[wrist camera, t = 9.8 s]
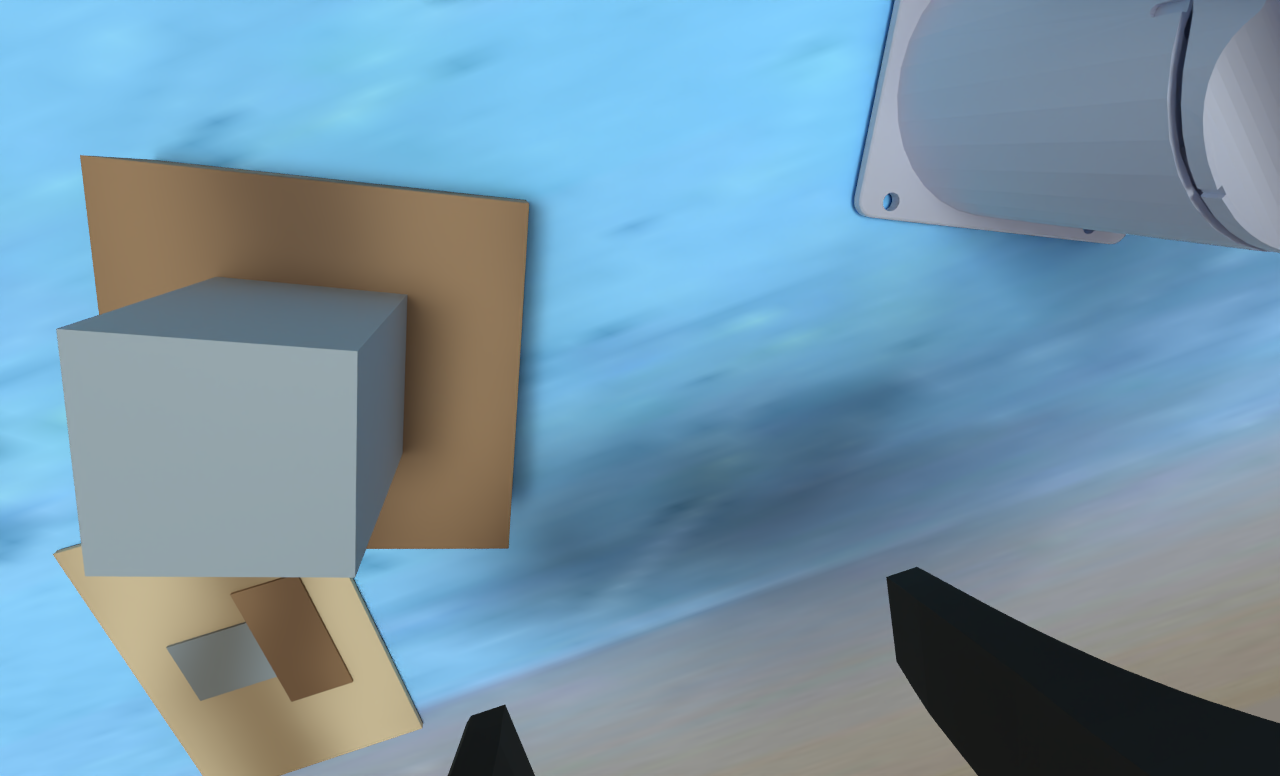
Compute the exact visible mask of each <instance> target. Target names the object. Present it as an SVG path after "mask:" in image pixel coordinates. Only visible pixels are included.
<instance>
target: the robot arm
mask: <svg viewBox="0 0 1280 776" xmlns="http://www.w3.org/2000/svg"><path fill="white" fill-rule="evenodd" d="M888 193H890V194H891V196H892V203H891V206H890V207H889V208H888V209H886V210H885V208H884V206H883V200H884V198H885V196H886V195H887V194H888ZM854 205H855V208H856V210H857V211H858V212H859V213H860V215H863V216H866V217H872V218H881V219H890V220H898V221H907V222H916V223H925V224H934V225H943V226H952V227H961V228H970V229H979V230H988V231H997V232H1006V233H1015V234H1024V235H1032V236H1041V237H1050V238H1059V239H1068V240H1077V241H1086V242H1095V243H1104V244H1115V243H1117V242H1119V241H1121V239H1122V238H1123V237H1124V236H1125V235H1126V234H1129V235H1137V236H1145V237H1153V238H1161V239H1169V240H1177V241H1185V242H1193V243H1201V244H1209V245H1217V246H1225V247H1233V248H1241V249H1249V250H1257V251H1269V252H1278V253H1280V0H895V2H894V7H893V12H892V17H891V22H890V27H889V32H888V36H887V41H886V46H885V51H884V56H883V61H882V66H881V71H880V76H879V80H878V85H877V90H876V95H875V100H874V105H873V110H872V115H871V119H870V124H869V129H868V134H867V139H866V144H865V149H864V154H863V158H862V163H861V168H860V173H859V178H858V183H857V188H856V193H855V198H854ZM1083 229H1084V230H1083ZM886 578H887V586H888V594H889V603H890V611H891V619H892V627H893V636H894V644H895V652H896V661H897V663H898V664H899V666H900V668H901V669H902V671H903V673H904V674H905V676H906V678H907V679H908V681H909V683H910V684H911V686H912V687H913V689H914V691H915V692H916V694H917V695H918V697H919V698H920V700H921V702H922V703H923V705H924V706H925V708H926V709H927V711H928V712H929V714H930V715H931V716H932V718H933V719H934V720H935V722H936V723H937V724H938V726H939V727H940V728H941V729H942V731H943V732H944V733H945V734H946V736H947V737H948V738H949V740H950V741H951V742H952V743H953V745H954V746H955V747H956V748H957V750H958V751H959V752H960V753H961V755H962V756H963V757H964V759H965V760H966V761H967V762H968V764H969V765H970V766H971V767H972V769H973V770H974V771H975V772H976V774H977V775H978V776H1280V723H1276V722H1274V721H1270V720H1267V719H1263V718H1260V717H1257V716H1254V715H1251V714H1248V713H1245V712H1242V711H1238V710H1235V709H1232V708H1229V707H1226V706H1223V705H1220V704H1217V703H1214V702H1210V701H1207V700H1205V699H1202V698H1199V697H1196V696H1193V695H1190V694H1187V693H1184V692H1182V691H1179V690H1176V689H1174V688H1171V687H1168V686H1166V685H1163V684H1161V683H1158V682H1155V681H1153V680H1150V679H1147V678H1145V677H1142V676H1140V675H1137V674H1134V673H1132V672H1129V671H1127V670H1124V669H1122V668H1119V667H1117V666H1115V665H1112V664H1110V663H1107V662H1105V661H1103V660H1100V659H1098V658H1096V657H1094V656H1092V655H1089V654H1087V653H1085V652H1083V651H1080V650H1078V649H1076V648H1074V647H1072V646H1069V645H1067V644H1065V643H1063V642H1060V641H1058V640H1056V639H1054V638H1052V637H1050V636H1048V635H1046V634H1044V633H1042V632H1040V631H1038V630H1036V629H1034V628H1031V627H1029V626H1027V625H1025V624H1023V623H1022V622H1020V621H1018V620H1016V619H1014V618H1012V617H1010V616H1008V615H1006V614H1004V613H1002V612H1000V611H998V610H996V609H994V608H992V607H990V606H989V605H987V604H985V603H983V602H981V601H979V600H977V599H975V598H974V597H972V596H970V595H968V594H966V593H964V592H962V591H961V590H959V589H957V588H955V587H953V586H951V585H950V584H948V583H946V582H944V581H942V580H940V579H939V578H937V577H935V576H933V575H931V574H929V573H928V572H926V571H924V570H922V569H920V568H918V567H915V568H912V569H909V570H906V571H903V572H900V573H897V574H894V575H891V576H888V577H886ZM448 776H535V775H534V772H533V770H532V768H531V765H530V763H529V760H528V758H527V756H526V753H525V751H524V748H523V746H522V744H521V741H520V739H519V736H518V734H517V732H516V729H515V727H514V725H513V722H512V720H511V717H510V715H509V713H508V710H507V708H506V705H502V706H499V707H496V708H493V709H490V710H487V711H484V712H481V713H478V714H475V715H472V716H471V717H470V719H469V720H468V722H467V724H466V727H465V729H464V732H463V735H462V738H461V741H460V744H459V746H458V749H457V752H456V755H455V757H454V760H453V763H452V766H451V768H450V771H449V774H448Z"/></svg>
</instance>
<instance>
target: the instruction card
mask: <svg viewBox="0 0 1280 776" xmlns="http://www.w3.org/2000/svg"><path fill="white" fill-rule="evenodd" d="M53 555H54V557H55V558H56V560H57V561H58V563H59V564H60V566H61V567H62V569H63V570H64V572H65V573H66V575H67V576H68V578H69V579H70V581H71V582H72V583H73V585H74V586H75V588H76V589H77V591H78V592H79V594H80V595H81V597H82V598H83V600H84V601H85V603H86V604H87V606H88V607H89V609H90V610H91V612H92V613H93V614H94V616H95V617H96V619H97V620H98V622H99V623H100V625H101V626H102V628H103V629H104V631H105V632H106V634H107V635H108V637H109V638H110V640H111V641H112V643H113V644H114V645H115V647H116V648H117V650H118V651H119V653H120V654H121V656H122V657H123V659H124V660H125V662H126V663H127V665H128V666H129V668H130V669H131V671H132V672H133V674H134V675H135V676H136V678H137V679H138V681H139V682H140V684H141V685H142V687H143V688H144V690H145V691H146V693H147V694H148V696H149V697H150V699H151V700H152V702H153V703H154V705H155V706H156V707H157V709H158V710H159V712H160V713H161V715H162V716H163V718H164V719H165V721H166V722H167V724H168V725H169V727H170V728H171V730H172V731H173V733H174V734H175V736H176V737H177V738H178V740H179V741H180V743H181V744H182V746H183V747H184V749H185V750H186V752H187V753H188V755H189V756H190V758H191V759H192V761H193V762H194V764H195V765H196V767H197V768H198V769H199V771H200V772H201V774H202V775H203V776H280V775H283V774H286V773H289V772H292V771H295V770H298V769H301V768H304V767H307V766H310V765H313V764H316V763H319V762H322V761H325V760H328V759H331V758H334V757H337V756H340V755H343V754H346V753H349V752H352V751H355V750H358V749H361V748H364V747H367V746H370V745H373V744H376V743H379V742H382V741H385V740H388V739H391V738H394V737H397V736H400V735H403V734H406V733H409V732H412V731H415V730H418V729H421V728H422V727H423V723H422V721H421V719H420V716H419V714H418V712H417V710H416V708H415V706H414V704H413V702H412V700H411V698H410V696H409V694H408V692H407V690H406V687H405V685H404V683H403V681H402V679H401V677H400V675H399V673H398V671H397V669H396V667H395V665H394V663H393V661H392V659H391V656H390V654H389V652H388V650H387V648H386V646H385V644H384V642H383V640H382V638H381V636H380V634H379V632H378V630H377V627H376V625H375V623H374V621H373V619H372V617H371V615H370V613H369V611H368V609H367V607H366V605H365V603H364V601H363V598H362V596H361V594H360V592H359V590H358V588H357V586H356V584H355V582H354V580H353V578H335V577H118V576H85V572H84V563H83V554H82V546H81V544H78V545H75V546H71V547H68V548H64V549H61V550H57V551H56V552H55V553H54V554H53Z"/></svg>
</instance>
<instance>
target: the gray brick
mask: <svg viewBox="0 0 1280 776" xmlns="http://www.w3.org/2000/svg"><path fill="white" fill-rule="evenodd" d="M406 325H407V294H396V293H385V292H375V291H364V290H353V289H343V288H332V287H321V286H310V285H300V284H289V283H278V282H268V281H257V280H246V279H235V278H225V277H214V278H211V279H208V280H205V281H202V282H198V283H195V284H192V285H189V286H186V287H183V288H180V289H177V290H174V291H171V292H168V293H165V294H162V295H159V296H156V297H153V298H150V299H146V300H143V301H140V302H137V303H134V304H131V305H128V306H125V307H122V308H119V309H116V310H113V311H110V312H107V313H104V314H101V315H97V316H94V317H91V318H88V319H85V320H82V321H79V322H76V323H73V324H70V325H67V326H64V327H61V328H58V329H56V330H57V339H58V348H59V356H60V365H61V373H62V382H63V391H64V399H65V408H66V416H67V425H68V434H69V442H70V451H71V460H72V468H73V477H74V485H75V494H76V503H77V511H78V520H79V528H80V537H81V546H82V554H83V563H84V572H85V576H118V577H335V578H355V576H356V574H357V571H358V569H359V566H360V563H361V561H362V558H363V556H364V553H365V550H366V548H367V545H368V542H369V540H370V537H371V535H372V532H373V529H374V527H375V524H376V522H377V519H378V516H379V514H380V511H381V509H382V506H383V503H384V501H385V498H386V496H387V493H388V490H389V488H390V485H391V482H392V480H393V477H394V475H395V472H396V469H397V467H398V464H399V462H400V459H401V456H402V453H403V421H404V389H405V357H406Z"/></svg>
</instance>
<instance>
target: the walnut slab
mask: <svg viewBox="0 0 1280 776" xmlns="http://www.w3.org/2000/svg"><path fill="white" fill-rule="evenodd" d="M80 159H81V167H82V175H83V184H84V192H85V200H86V209H87V217H88V225H89V234H90V242H91V250H92V259H93V267H94V275H95V284H96V292H97V301H98V309H99V315H101V314H104V313H107V312H110V311H113V310H116V309H119V308H122V307H125V306H128V305H131V304H134V303H137V302H140V301H143V300H146V299H150V298H153V297H156V296H159V295H162V294H165V293H168V292H171V291H174V290H177V289H180V288H183V287H186V286H189V285H192V284H195V283H198V282H202V281H205V280H208V279H211V278H214V277H225V278H235V279H246V280H257V281H268V282H278V283H289V284H300V285H310V286H321V287H332V288H343V289H353V290H364V291H375V292H385V293H396V294H407V325H406V357H405V389H404V421H403V453H402V456H401V459H400V462H399V464H398V467H397V469H396V472H395V475H394V477H393V480H392V482H391V485H390V488H389V490H388V493H387V496H386V498H385V501H384V503H383V506H382V509H381V511H380V514H379V516H378V519H377V522H376V524H375V527H374V529H373V532H372V535H371V537H370V540H369V542H368V545H367V548H366V549H489V548H509V532H510V515H511V499H512V482H513V465H514V448H515V432H516V415H517V398H518V381H519V365H520V348H521V331H522V315H523V298H524V281H525V264H526V248H527V231H528V214H529V203H528V202H527V201H526V200H520V199H511V198H502V197H493V196H483V195H474V194H465V193H456V192H446V191H437V190H428V189H419V188H409V187H400V186H391V185H382V184H372V183H363V182H354V181H345V180H335V179H326V178H317V177H308V176H298V175H289V174H280V173H270V172H261V171H252V170H243V169H233V168H224V167H215V166H206V165H196V164H187V163H178V162H169V161H159V160H148V159H132V158H116V157H99V156H83V155H80Z"/></svg>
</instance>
